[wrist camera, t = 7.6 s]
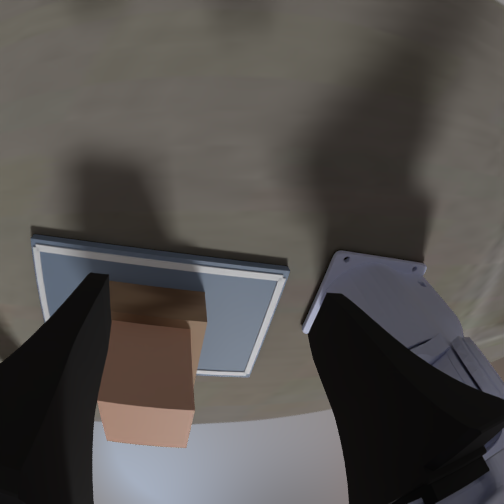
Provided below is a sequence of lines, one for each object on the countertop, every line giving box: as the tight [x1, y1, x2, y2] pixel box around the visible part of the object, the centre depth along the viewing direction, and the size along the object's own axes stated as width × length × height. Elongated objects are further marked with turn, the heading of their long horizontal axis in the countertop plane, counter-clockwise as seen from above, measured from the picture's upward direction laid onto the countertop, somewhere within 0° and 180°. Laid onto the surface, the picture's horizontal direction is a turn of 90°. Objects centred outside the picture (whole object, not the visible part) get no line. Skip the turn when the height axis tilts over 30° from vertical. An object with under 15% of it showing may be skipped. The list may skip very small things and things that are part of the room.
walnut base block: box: [109, 281, 207, 386], centre depth 22 cm, size 7×7×3 cm
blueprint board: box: [31, 234, 290, 377], centre depth 23 cm, size 18×12×1 cm, turn 76°
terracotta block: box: [97, 320, 195, 448], centre depth 18 cm, size 5×5×6 cm
